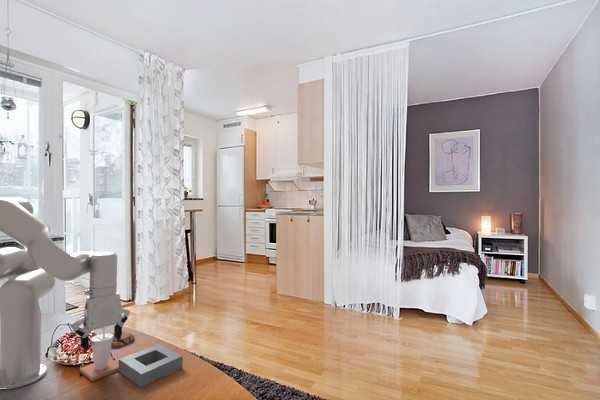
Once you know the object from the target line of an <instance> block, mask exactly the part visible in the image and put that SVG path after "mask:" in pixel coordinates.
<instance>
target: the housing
mask: <svg viewBox="0 0 600 400" xmlns="http://www.w3.org/2000/svg"><path fill="white" fill-rule="evenodd" d="M154 361H155V362H154ZM183 361H184V359H183V355H181V353H178V352H176V351H174V350H172V349H170V348H168V347H167V346H165V345H162V344H160V343H157V344H155V345H153V346H150V347H147V348H145V349H142V350H139V351H136V352H134V353H131V354H129V355H126V356H124V357H123V356H122V357H121V358H118V363H119V366H118V371H117V372H119V373H120V374H121V375H123V376H125V377H126V378H127V379H129V381H131V382H133V383H134V384H135V385H136V386H138V387H140V388H143V387H145V386H147V385H149V384H151V383H150V382H152V383H154V382H155V381H154V380H156V379H158V378H160V377H162V376H164V377H166V376H168V375H170V374H169V373H171V372H173V371H175V372H176V370H177V371H179V370H180V368H181V369H182V368H183ZM178 369H179V370H178ZM173 373H174V372H173ZM167 374H168V375H167ZM171 374H172V373H171ZM165 375H166V376H165ZM162 378H163V377H162ZM160 379H161V378H160ZM158 380H159V379H158ZM153 381H154V382H153ZM156 381H157V380H156Z"/></svg>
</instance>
